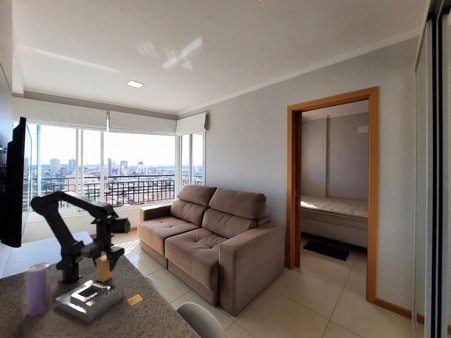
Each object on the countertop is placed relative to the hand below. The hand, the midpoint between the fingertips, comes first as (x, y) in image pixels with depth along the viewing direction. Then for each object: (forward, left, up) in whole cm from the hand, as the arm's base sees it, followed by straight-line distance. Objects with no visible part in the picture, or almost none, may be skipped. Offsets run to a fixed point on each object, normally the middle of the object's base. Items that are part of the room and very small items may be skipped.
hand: (104, 268), depth 84 cm
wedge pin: (0, 0, -4) cm, 4 cm away
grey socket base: (+9, -12, -4) cm, 16 cm away
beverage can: (-3, -21, -4) cm, 22 cm away
